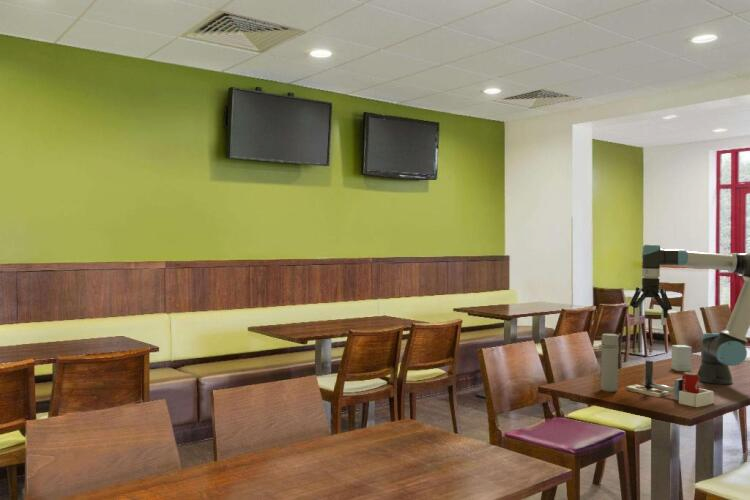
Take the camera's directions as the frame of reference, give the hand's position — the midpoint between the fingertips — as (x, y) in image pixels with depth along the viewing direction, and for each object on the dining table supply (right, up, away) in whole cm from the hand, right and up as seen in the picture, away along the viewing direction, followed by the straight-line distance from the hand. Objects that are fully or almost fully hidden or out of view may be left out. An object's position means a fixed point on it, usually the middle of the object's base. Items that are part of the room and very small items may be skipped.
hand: (649, 323), depth 303 cm
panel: (-8, -29, -15) cm, 34 cm away
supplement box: (+32, -29, +37) cm, 56 cm away
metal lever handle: (-4, -28, -21) cm, 36 cm away
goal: (+5, -29, -34) cm, 45 cm away
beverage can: (+4, -29, -31) cm, 43 cm away
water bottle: (-24, -29, -12) cm, 40 cm away
